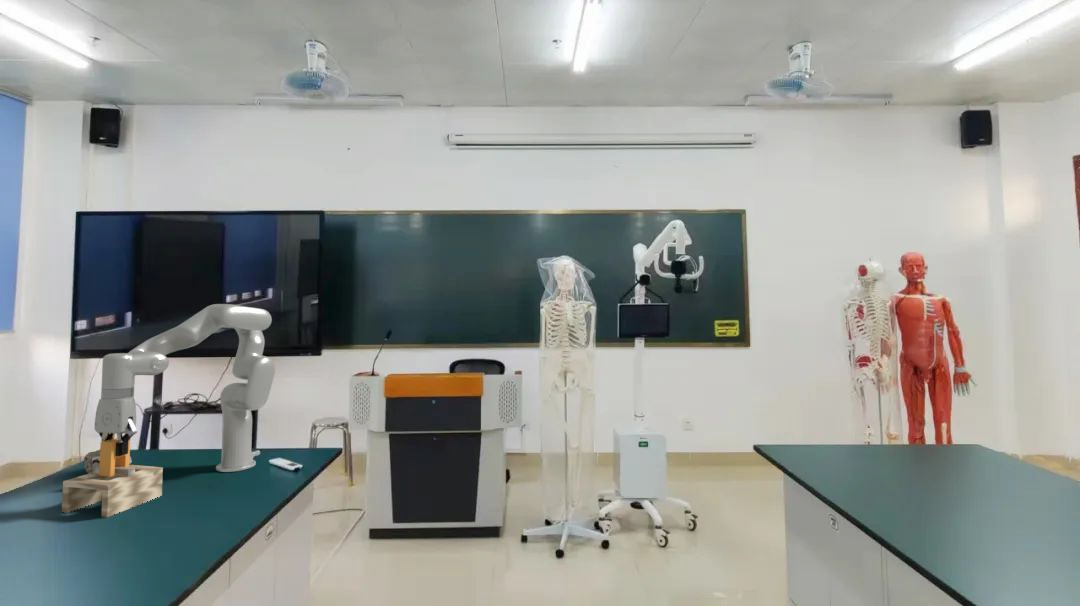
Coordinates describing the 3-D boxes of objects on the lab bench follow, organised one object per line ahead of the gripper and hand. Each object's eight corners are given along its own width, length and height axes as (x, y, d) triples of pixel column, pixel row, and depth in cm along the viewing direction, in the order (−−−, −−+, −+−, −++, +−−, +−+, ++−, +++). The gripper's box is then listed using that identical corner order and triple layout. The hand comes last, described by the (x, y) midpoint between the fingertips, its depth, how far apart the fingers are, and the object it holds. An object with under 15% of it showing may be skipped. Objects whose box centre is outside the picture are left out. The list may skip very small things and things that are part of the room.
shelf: (120, 492, 151) (121, 457, 152) (161, 496, 149) (163, 461, 149) (61, 512, 136) (63, 474, 136) (107, 517, 133) (108, 478, 133)
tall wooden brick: (118, 469, 145) (119, 437, 146) (129, 470, 144) (130, 438, 145) (99, 475, 140) (100, 441, 140) (110, 476, 139) (111, 442, 139)
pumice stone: (75, 473, 168) (76, 451, 168) (117, 464, 178) (118, 443, 179) (88, 481, 161) (89, 457, 161) (132, 471, 171) (133, 449, 171)
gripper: (81, 394, 141) (78, 456, 140) (127, 397, 138) (125, 460, 137) (108, 391, 148) (106, 449, 148) (153, 393, 145) (150, 452, 145)
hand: (115, 453), depth 142 cm, fingers closed on tall wooden brick, 4 cm apart
